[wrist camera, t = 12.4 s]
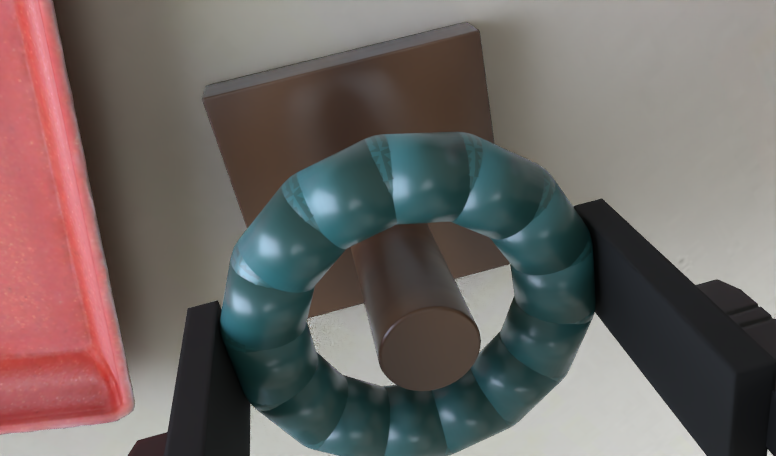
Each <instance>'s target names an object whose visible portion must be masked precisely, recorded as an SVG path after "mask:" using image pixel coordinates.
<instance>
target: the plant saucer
mask: <svg viewBox="0 0 776 456" xmlns="http://www.w3.org/2000/svg"><path fill="white" fill-rule="evenodd" d="M134 405H135V400H134V395H133V389H132V384H131V380H130V376H129V371H128V366H127V360H126V355H125V350H124V346H123V341H122V337H121V332H120V327H119V322H118V317H117V313H116V308H115V303H114V298H113V293H112V289H111V284H110V279H109V274H108V268H107V264H106V259H105V253H104V250H103V246H102V241H101V236H100V231H99V226H98V221H97V216H96V211H95V205H94V201H93V196H92V191H91V186H90V181H89V177H88V172H87V165H86V159H85V154H84V150H83V145H82V140H81V136H80V131H79V126H78V121H77V116H76V112H75V108H74V102H73V96H72V91H71V87H70V82H69V78H68V74H67V69H66V65H65V60H64V53H63V46H62V42H61V38H60V34H59V29H58V24H57V19H56V14H55V9H54V3H53V0H0V435H1V434H8V433H20V432H32V431H38V430H48V429H59V428H69V427H76V426H81V425H94V424H101V423H109V422H114V421H118V420H120V419H121V418H123V417H125V416H127V415H128V414H130V413H131V412H132V411H133V410H134Z"/></svg>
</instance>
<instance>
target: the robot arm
mask: <svg viewBox="0 0 776 456" xmlns="http://www.w3.org/2000/svg"><path fill="white" fill-rule="evenodd" d="M574 209H575V210H576V212H577V213H578V214H579V216H580V217H581V219H582V220H583V222H584V223H585V225H586V226H587V228H588V230H589V232H590V234H591V238H592V243H593V257H594V276H595V294H596V305H595V313H596V314H597V315H598V317H599V318H600V319H601V320H602V322H603V323H604V324H605V326H606V327H607V328H608V329H609V331H610V332H611V333H612V335H613V336H614V337H615V338H616V340H617V341H618V342H619V344H620V345H621V346H622V347H623V349H624V350H625V351H626V353H627V354H628V355H629V356H630V358H631V359H632V360H633V362H634V363H635V364H636V365H637V367H638V368H639V369H640V371H641V372H642V373H643V374H644V376H645V377H646V378H647V380H648V381H649V382H650V383H651V385H652V386H653V387H654V389H655V390H656V391H657V392H658V394H659V395H660V396H661V397H662V399H663V400H664V401H665V403H666V404H667V405H668V406H669V408H670V409H671V410H672V412H673V413H674V414H675V415H676V417H677V418H678V419H679V421H680V422H681V423H682V424H683V426H684V427H685V428H686V430H687V431H688V432H689V433H690V435H691V436H692V437H693V439H694V440H695V441H696V442H697V444H698V445H699V446H700V448H701V449H702V450H703V451H704V453H705V454H706V455H707V456H767V449H768V450H769V451H770V452H771V453H772V454H773V455H774V456H776V319H772V317H771V315H770V314H769V313H768V312H766V311H765V310H764V309H763V308H762V307H758V304H757V303H756V302H755V301H754V300H752V299H751V298H750V297H749V296H748V295H746V294H745V293H744V292H743V291H742V290H741V289H738V288H736V287H734V286H731V285H729V284H727V283H724V282H722V281H720V280H713V281H709V282H706V283H702V284H698V285H695V284H693V283H692V282H691V281H690V280H689V279H688V278H687V277H686V276H685V275H684V274H683V273H682V272H681V271H679V270H678V269H677V268H676V267H675V266H674V265H673V264H672V263H671V262H670V261H669V260H668V259H667V258H665V257H664V256H663V255H662V254H661V253H660V252H659V251H658V250H657V249H656V248H655V247H654V246H653V245H651V244H650V243H649V242H648V241H647V240H646V239H645V238H644V237H643V236H642V235H641V234H640V233H639V232H637V231H636V230H635V229H634V228H633V227H632V226H631V225H630V224H629V223H628V222H627V221H626V220H625V219H623V218H622V217H621V216H620V215H619V214H618V213H617V212H616V211H615V210H614V209H613V208H612V207H611V206H609V205H608V204H607V203H606V202H605V201H604V200H603V199H598V200H595V201H591V202H587V203H583V204H580V205H576V206H574ZM221 312H222V309H221V307H220V304H219V302H218V301H214V302H210V303H206V304H203V305H199V306H195V307H191V308H188V309H187V316H186V322H185V328H184V334H183V340H182V347H181V353H180V359H179V365H178V371H177V377H176V384H175V390H174V396H173V402H172V408H171V415H170V421H169V427H168V432H167V433H163V434H159V435H156V436H152V437H148V438H145V439H141V440H138V441H137V442H136V444H135V445H134V447H133V448H132V450H131V451H130V453H129V454H128V456H250V402H249V401H248V400H247V398H246V396H245V394H244V392H243V390H242V387H241V385H240V382H239V380H238V378H237V375H236V373H235V370H234V368H233V365H232V363H231V360H230V358H229V356H228V353H227V351H226V348H225V346H224V343H223V340H222V337H221V334H220V318H221Z"/></svg>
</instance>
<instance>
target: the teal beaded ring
mask: <svg viewBox="0 0 776 456" xmlns="http://www.w3.org/2000/svg"><path fill="white" fill-rule="evenodd" d="M433 222H452V223H455V224H457V225H460V226H462V227H465V228H467V229H470V230H472V231H475V232H477V233H480V234H482V235H485V236H487V237H489V238H490V239H491V240H492V241H493V242H494V244H495V245H496V246H497V247H498V249H499V250H500V251H501V252H502V254H503V255H504V256H505V257H506V259H507V260H508V261H509V262H510V264H511V272H512V280H513V288H514V298H513V301H512V303H511V306H510V309H509V311H508V314H507V316H506V319H505V322H504V324H503V327H502V329H501V331H500V332H499V333H498V334H497V335H496V336H495V337H494V338H493V339H492V340H491V341H490V343H489V344H488V345H487V346H486V347H485V348H484V349H483V350H482V351H481V352H480V353H479V354H478V357H477V359H476V361H475V363H474V364H473V366H472V367H471V369H470V370H469V371H468V372H467V373H466V374H465V375H464V376H463V377H461V378H460V379H459V380H457V381H456V382H454V383H452V384H450V385H448V386H446V387H443V388H440V389H436V390H431V391H413V390H408V389H405V388H402V387H400V386H398V385H392V386H379V385H375V384H372V383H368V382H365V381H361V380H358V379H354V378H351V377H347V376H344V375H342V374H341V373H340V372H339V371H337V370H336V369H335V368H334V367H333V366H332V365H331V364H330V363H328V362H327V361H326V360H325V359H324V358H323V357H322V356H321V355H319V354H318V353H317V352H316V349H315V346H314V343H313V340H312V337H311V334H310V330H309V327H308V324H307V318H308V314H309V309H310V305H311V301H312V297H313V292H314V288H315V285H316V284H317V283H318V282H319V280H320V279H321V278H322V277H323V276H324V275H325V273H326V272H327V271H328V270H329V269H330V268H331V266H332V265H333V264H334V263H335V262H336V261H337V259H338V258H339V257H340V256H341V255H342V254H343V252H344V251H345V250H346V249H347V248H349V247H352V246H354V245H356V244H358V243H360V242H362V241H364V240H366V239H368V238H370V237H372V236H374V235H376V234H378V233H380V232H382V231H384V230H387V229H389V228H391V227H393V226H395V225H398V224H416V223H433ZM595 305H596V294H595V276H594V257H593V243H592V238H591V234H590V232H589V230H588V228H587V226H586V225H585V223H584V222H583V220H582V219H581V217H580V216H579V214H578V213H577V212H576V210H575V209H574V207H573V206H572V204H571V203H570V201H569V200H568V199H567V197H566V196H565V194H564V193H563V191H562V190H561V188H560V187H559V186H558V184H557V183H556V181H555V180H554V178H553V177H552V176H551V174H550V173H549V172H548V171H547V170H546V169H544V168H543V167H541V166H540V165H538V164H537V163H534V162H532V161H530V160H528V159H526V158H524V157H521V156H519V155H517V154H515V153H513V152H511V151H508V150H506V149H504V148H502V147H500V146H497V145H495V144H493V143H491V142H489V141H487V140H484V139H482V138H480V137H478V136H476V135H473V134H470V133H465V132H434V133H405V134H380V135H374V136H371V137H368V138H366V139H364V140H361V141H359V142H357V143H355V144H353V145H351V146H349V147H347V148H345V149H343V150H341V151H339V152H337V153H335V154H333V155H331V156H329V157H327V158H325V159H323V160H321V161H319V162H317V163H315V164H313V165H311V166H309V167H307V168H305V169H303V170H301V171H299V172H297V173H295V174H294V175H292V176H291V177H289V178H288V179H287V180H286V181H285V182H284V183H283V184H282V186H281V187H280V188H279V189H278V191H277V192H276V193H275V194H274V196H273V197H272V198H271V199H270V201H269V202H268V203H267V204H266V206H265V207H264V208H263V209H262V211H261V212H260V213H259V215H258V216H257V217H256V218H255V220H254V221H253V222H252V223H251V225H250V226H249V227H248V228H247V230H246V231H245V232H244V233H243V235H242V236H241V237H240V238H239V240H238V241H237V243H236V245H235V246H234V249H233V252H232V255H231V259H230V264H229V270H228V276H227V282H226V288H225V294H224V300H223V306H222V312H221V318H220V334H221V337H222V340H223V343H224V346H225V348H226V351H227V353H228V356H229V358H230V360H231V363H232V365H233V368H234V370H235V373H236V375H237V378H238V380H239V382H240V385H241V387H242V390H243V392H244V394H245V396H246V398H247V400H248V401H249V402H250V403H251V404H252V405H253V406H254V407H255V408H256V409H257V410H258V411H259V412H261V413H262V414H263V415H265V416H266V417H267V418H268V419H270V420H271V421H272V422H274V423H275V424H276V425H277V426H279V427H280V428H281V429H283V430H284V431H285V432H286V433H288V434H289V435H290V436H292V437H293V438H294V439H295V440H297V441H298V442H299V443H301V444H302V445H304V446H306V447H308V448H311V449H314V450H318V451H322V452H326V453H330V454H334V455H339V456H449V455H451V454H454V453H456V452H459V451H461V450H463V449H465V448H467V447H469V446H471V445H474V444H476V443H478V442H480V441H482V440H484V439H487V438H489V437H491V436H493V435H495V434H497V433H500V432H502V431H504V430H506V429H508V428H510V427H512V426H514V425H515V424H516V423H517V422H519V421H520V420H521V419H522V418H523V417H524V416H525V415H526V414H527V413H528V412H529V411H530V410H531V409H532V408H533V407H534V406H535V405H537V404H538V403H539V402H540V401H541V400H542V399H543V398H544V397H545V396H546V395H547V394H548V393H549V392H550V391H551V390H552V389H553V388H554V387H555V386H556V385H557V384H559V383H560V382H561V381H562V379H563V378H564V377H565V376H566V374H567V373H568V371H569V369H570V367H571V365H572V362H573V360H574V358H575V356H576V354H577V351H578V349H579V347H580V345H581V342H582V340H583V338H584V336H585V334H586V331H587V329H588V327H589V325H590V322H591V320H592V318H593V315H594V312H595Z"/></svg>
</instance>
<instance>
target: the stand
mask: <svg viewBox="0 0 776 456" xmlns="http://www.w3.org/2000/svg"><path fill="white" fill-rule="evenodd" d="M202 101H203V104H204V107H205V110H206V112H207V115H208V118H209V121H210V124H211V127H212V130H213V132H214V135H215V138H216V141H217V144H218V147H219V150H220V152H221V155H222V158H223V161H224V164H225V167H226V170H227V172H228V175H229V178H230V181H231V184H232V187H233V190H234V192H235V195H236V198H237V201H238V204H239V207H240V210H241V212H242V215H243V218H244V221H245V224H246V227H247V228H248V227H249V226H250V225H251V223H252V222H253V221H254V220H255V218H256V217H257V216H258V215H259V213H260V212H261V211H262V209H263V208H264V207H265V206H266V204H267V203H268V202H269V201H270V199H271V198H272V197H273V196H274V194H275V193H276V192H277V191H278V189H279V188H280V187H281V186H282V184H283V183H284V182H285V181H286V180H287V179H288V178H289V177H291V176H292V175H294V174H295V173H297V172H299V171H301V170H303V169H305V168H307V167H309V166H311V165H313V164H315V163H317V162H319V161H321V160H323V159H325V158H327V157H329V156H331V155H333V154H335V153H337V152H339V151H341V150H343V149H345V148H347V147H349V146H351V145H353V144H355V143H357V142H359V141H361V140H364V139H366V138H368V137H371V136H374V135H380V134H405V133H434V132H465V133H470V134H473V135H476V136H478V137H480V138H482V139H484V140H487V141H489V142H491V143H493V144H494V138H493V130H492V122H491V114H490V107H489V99H488V91H487V83H486V76H485V68H484V60H483V53H482V45H481V37H480V31H479V30H478V29H476V28H475V27H473V26H472V25H471V24H469V23H468V22H464V23H460V24H456V25H452V26H448V27H444V28H440V29H435V30H431V31H427V32H423V33H419V34H415V35H411V36H407V37H403V38H399V39H395V40H391V41H387V42H383V43H378V44H374V45H370V46H366V47H362V48H358V49H354V50H350V51H346V52H342V53H338V54H334V55H330V56H326V57H321V58H317V59H313V60H309V61H305V62H301V63H297V64H293V65H289V66H285V67H281V68H277V69H273V70H269V71H265V72H260V73H256V74H252V75H248V76H244V77H240V78H236V79H232V80H228V81H224V82H220V83H216V84H212V85H208V86H206V87H205V90H204V94H203V98H202ZM509 263H510V262H509V261H508V260H507V259H506V257H505V256H504V255H503V254H502V252H501V251H500V250H499V249H498V247H497V246H496V245H495V244H494V242H493V241H492V240H491V239H490V238H489V237H487V236H485V235H482V234H480V233H477V232H475V231H472V230H470V229H467V228H465V227H462V226H460V225H457V224H455V223H452V222H433V223H416V224H398V225H395V226H393V227H391V228H389V229H387V230H384V231H382V232H380V233H378V234H376V235H374V236H372V237H370V238H368V239H366V240H364V241H362V242H360V243H358V244H356V245H354V246H352V247H349V248H347V249H346V250H345V251H344V252H343V254H342V255H341V256H340V257H339V258H338V259H337V261H336V262H335V263H334V264H333V265H332V266H331V268H330V269H329V270H328V271H327V272H326V273H325V275H324V276H323V277H322V278H321V279H320V280H319V282H318V283H317V284H316V285H315V288H314V292H313V297H312V301H311V305H310V309H309V314H308V318H310V317H314V316H317V315H321V314H325V313H329V312H332V311H336V310H340V309H344V308H347V307H351V306H355V305H359V304H362V303H364V304H365V308H366V312H367V316H368V320H369V324H370V328H371V332H372V336H373V340H374V344H375V348H376V352H377V356H378V360H379V364H380V367H381V369H382V371H383V373H384V374H385V375H386V376H387V378H389V379H390V380H391V381H392V382H393V383H395V384H396V385H398V386H400V387H402V388H405V389H408V390H413V391H431V390H436V389H440V388H443V387H446V386H448V385H450V384H452V383H454V382H456V381H457V380H459V379H460V378H461V377H463V376H464V375H465V374H466V373H467V372H468V371H469V370H470V369H471V367H472V366H473V364H474V363H475V361H476V359H477V357H478V354H479V350H480V343H481V340H480V333H479V330H478V327H477V325H476V323H475V321H474V319H473V317H472V315H471V313H470V311H469V309H468V307H467V305H466V303H465V301H464V298H463V296H462V294H461V292H460V290H459V288H458V286H457V284H456V282H455V280H454V279H456V278H460V277H463V276H467V275H471V274H475V273H478V272H482V271H486V270H489V269H493V268H497V267H501V266H504V265H508V264H509Z"/></svg>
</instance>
